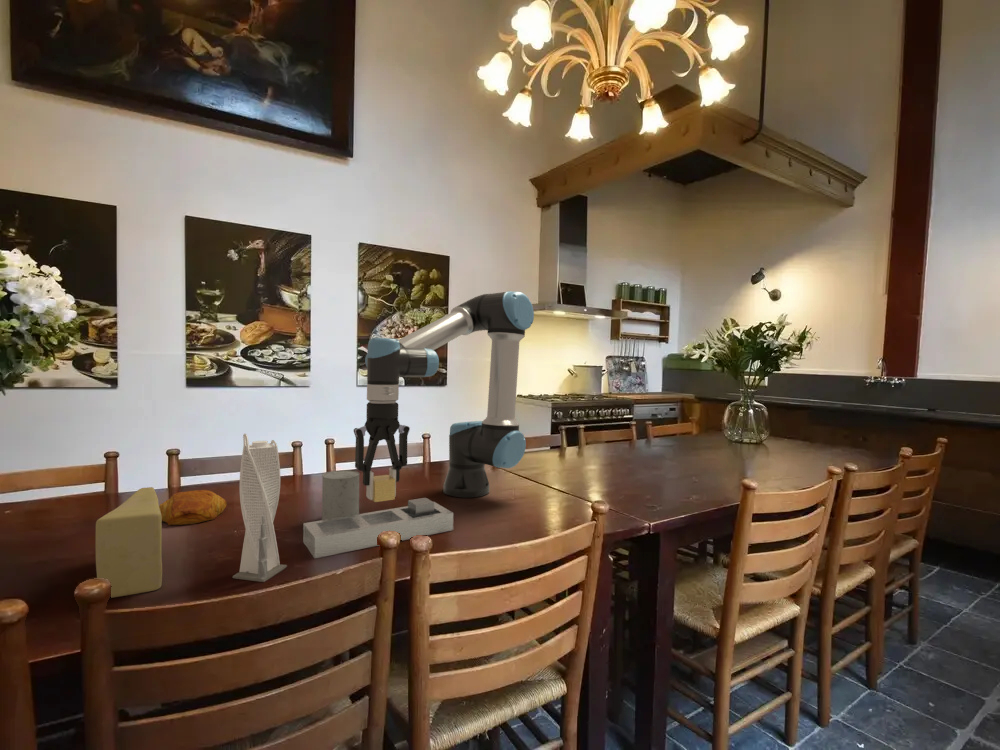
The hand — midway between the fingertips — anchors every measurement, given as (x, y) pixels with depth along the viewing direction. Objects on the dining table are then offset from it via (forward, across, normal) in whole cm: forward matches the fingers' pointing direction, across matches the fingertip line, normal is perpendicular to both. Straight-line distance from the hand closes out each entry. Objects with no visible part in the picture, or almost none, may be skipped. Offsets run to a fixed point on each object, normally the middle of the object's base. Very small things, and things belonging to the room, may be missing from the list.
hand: (381, 496), depth 120 cm
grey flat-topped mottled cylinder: (+10, -5, +17) cm, 20 cm away
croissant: (+10, -38, +39) cm, 56 cm away
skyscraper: (+10, -28, -6) cm, 30 cm away
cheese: (+10, -48, +6) cm, 49 cm away
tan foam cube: (0, 0, 0) cm, 0 cm away
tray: (+10, 0, 0) cm, 10 cm away
